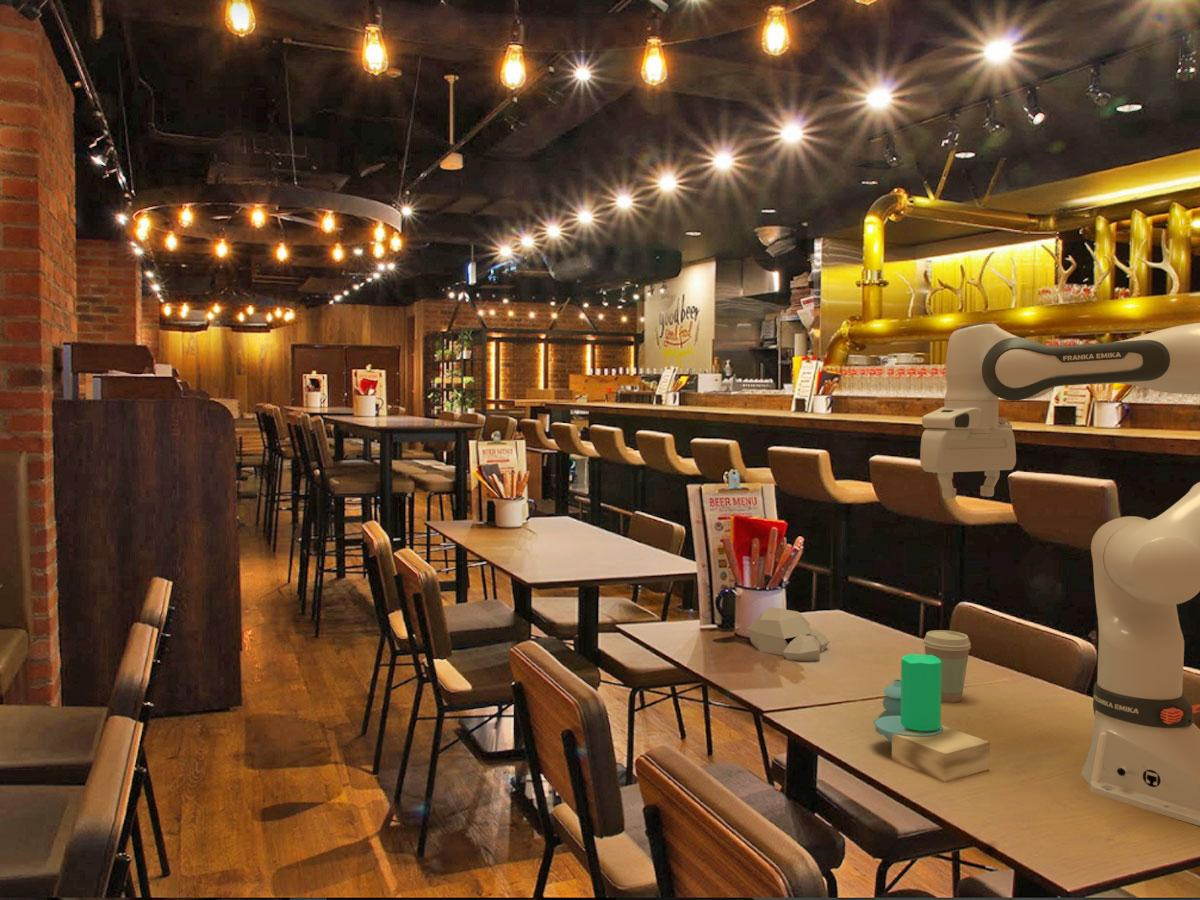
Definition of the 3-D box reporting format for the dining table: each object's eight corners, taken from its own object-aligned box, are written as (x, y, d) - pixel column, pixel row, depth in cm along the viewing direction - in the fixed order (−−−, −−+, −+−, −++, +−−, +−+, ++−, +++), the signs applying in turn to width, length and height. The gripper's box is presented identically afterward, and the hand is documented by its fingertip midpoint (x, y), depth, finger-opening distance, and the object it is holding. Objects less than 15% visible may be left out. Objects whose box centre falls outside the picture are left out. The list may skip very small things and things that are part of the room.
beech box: (989, 774, 150) (990, 741, 150) (944, 787, 145) (945, 754, 145) (934, 753, 159) (935, 722, 159) (890, 765, 154) (891, 733, 153)
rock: (829, 645, 227) (830, 603, 227) (829, 668, 208) (830, 622, 207) (748, 640, 231) (749, 599, 231) (741, 662, 212) (742, 617, 211)
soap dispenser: (949, 765, 152) (950, 706, 151) (878, 762, 153) (879, 704, 153) (925, 729, 169) (926, 676, 169) (862, 726, 171) (863, 674, 170)
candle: (914, 716, 160) (915, 642, 160) (948, 725, 156) (949, 649, 155) (892, 724, 157) (893, 648, 156) (926, 733, 152) (927, 655, 152)
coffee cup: (973, 706, 182) (975, 641, 182) (924, 703, 184) (926, 638, 183) (965, 692, 191) (967, 630, 190) (919, 689, 193) (920, 628, 192)
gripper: (996, 417, 180) (994, 493, 181) (914, 417, 170) (912, 497, 171) (1026, 418, 175) (1023, 496, 175) (943, 418, 165) (941, 501, 166)
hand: (968, 497), depth 173 cm, fingers open, 8 cm apart
